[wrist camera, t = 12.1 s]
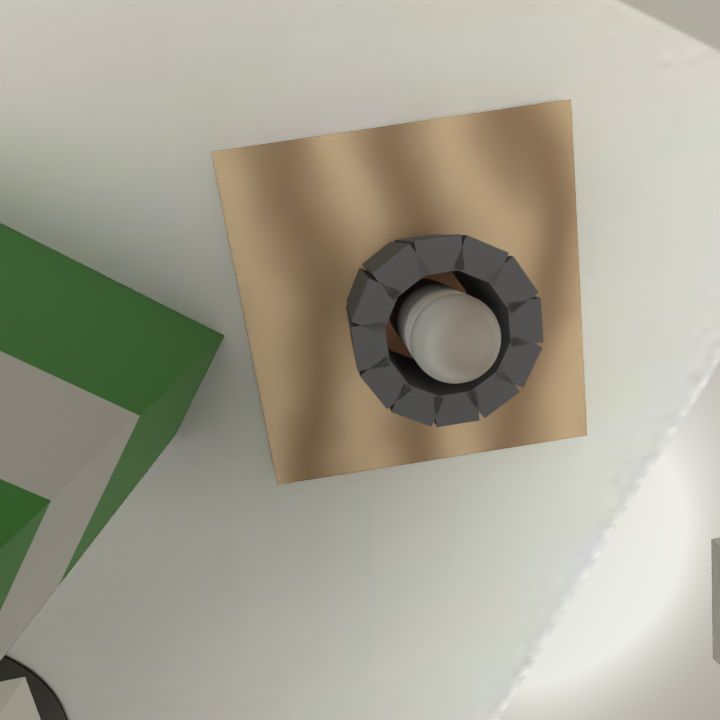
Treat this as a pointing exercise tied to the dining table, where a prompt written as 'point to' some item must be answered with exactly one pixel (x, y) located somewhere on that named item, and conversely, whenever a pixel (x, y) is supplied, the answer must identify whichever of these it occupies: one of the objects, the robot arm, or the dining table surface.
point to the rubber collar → (479, 279)
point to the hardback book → (78, 410)
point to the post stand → (419, 302)
